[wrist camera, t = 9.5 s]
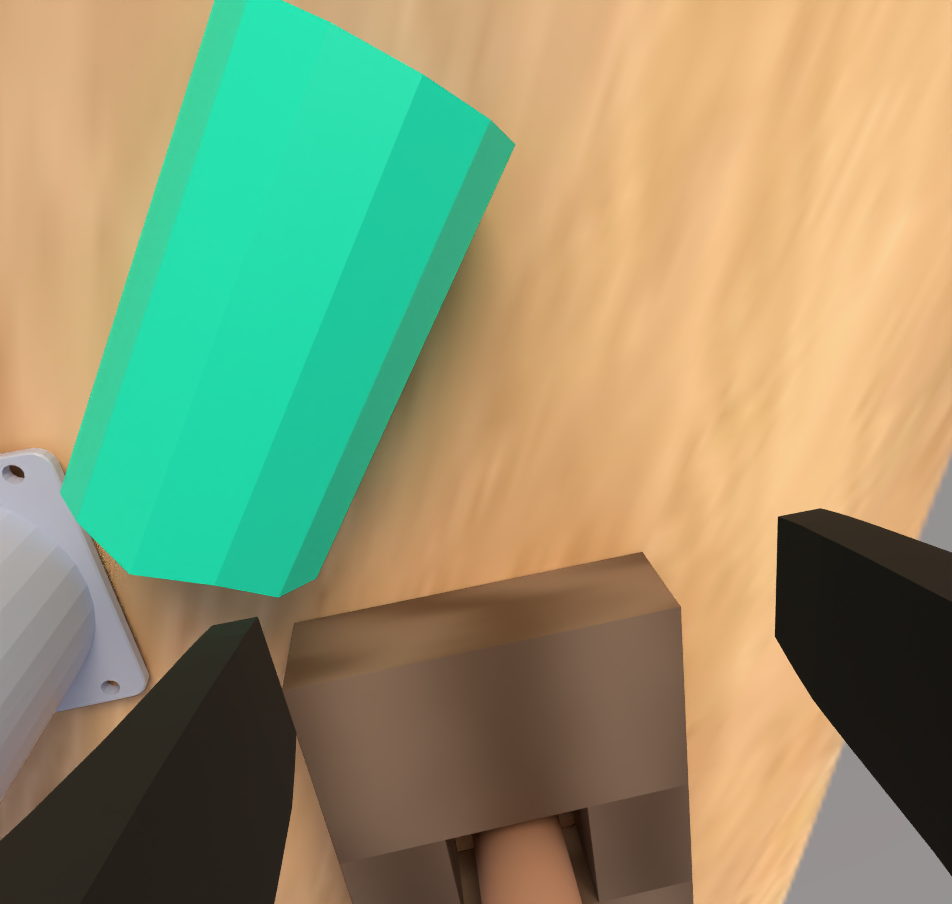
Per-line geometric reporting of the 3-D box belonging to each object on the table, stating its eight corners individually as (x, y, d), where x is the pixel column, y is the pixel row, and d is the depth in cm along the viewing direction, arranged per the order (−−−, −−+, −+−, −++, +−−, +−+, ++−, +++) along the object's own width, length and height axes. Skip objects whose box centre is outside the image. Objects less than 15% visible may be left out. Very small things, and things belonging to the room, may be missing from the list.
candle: (564, 176, 15) (347, 624, 18) (376, 96, 17) (219, 497, 21) (377, 32, 9) (123, 693, 13) (154, -49, 12) (-6, 513, 16)
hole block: (406, 984, 28) (409, 1073, 25) (294, 623, 21) (282, 691, 18) (666, 921, 29) (697, 1000, 26) (642, 552, 22) (680, 607, 19)
